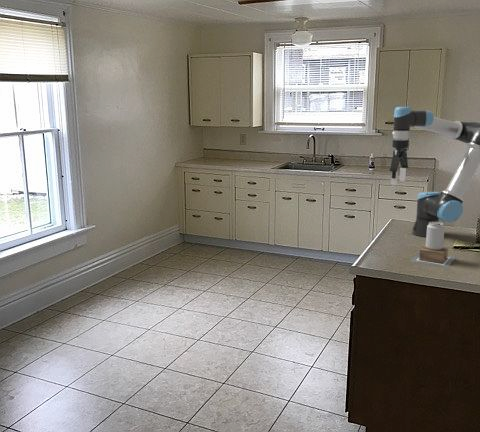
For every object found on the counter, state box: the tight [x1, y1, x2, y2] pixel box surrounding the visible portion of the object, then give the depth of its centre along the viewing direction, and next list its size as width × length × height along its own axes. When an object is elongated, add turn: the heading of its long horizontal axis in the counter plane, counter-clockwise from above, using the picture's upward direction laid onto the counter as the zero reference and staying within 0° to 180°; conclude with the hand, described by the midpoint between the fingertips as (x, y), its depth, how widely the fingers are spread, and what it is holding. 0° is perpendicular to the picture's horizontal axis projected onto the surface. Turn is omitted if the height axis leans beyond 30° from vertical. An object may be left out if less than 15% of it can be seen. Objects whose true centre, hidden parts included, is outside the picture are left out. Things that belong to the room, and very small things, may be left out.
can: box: [425, 221, 445, 250], centre depth 236 cm, size 8×8×12 cm
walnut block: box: [419, 244, 449, 264], centre depth 238 cm, size 10×10×5 cm
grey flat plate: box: [409, 252, 457, 268], centre depth 239 cm, size 18×16×1 cm
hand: (398, 182), depth 257 cm, fingers open, 13 cm apart
